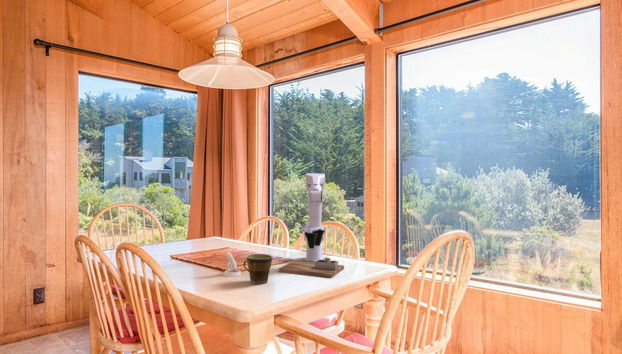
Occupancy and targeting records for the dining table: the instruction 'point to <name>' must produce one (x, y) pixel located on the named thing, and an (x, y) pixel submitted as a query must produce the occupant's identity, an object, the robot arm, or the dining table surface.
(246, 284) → the dining table surface
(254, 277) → the ceramic cup
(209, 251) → the dining table surface
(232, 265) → the hook
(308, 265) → the keeper board
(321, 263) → the silver rectangular frame
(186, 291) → the dining table surface
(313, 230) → the robot arm
